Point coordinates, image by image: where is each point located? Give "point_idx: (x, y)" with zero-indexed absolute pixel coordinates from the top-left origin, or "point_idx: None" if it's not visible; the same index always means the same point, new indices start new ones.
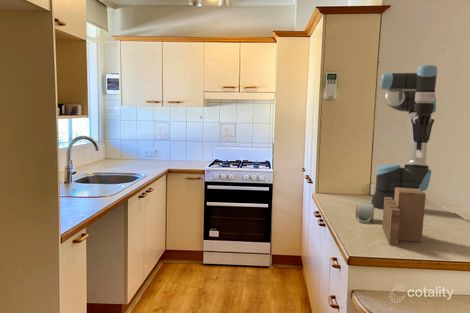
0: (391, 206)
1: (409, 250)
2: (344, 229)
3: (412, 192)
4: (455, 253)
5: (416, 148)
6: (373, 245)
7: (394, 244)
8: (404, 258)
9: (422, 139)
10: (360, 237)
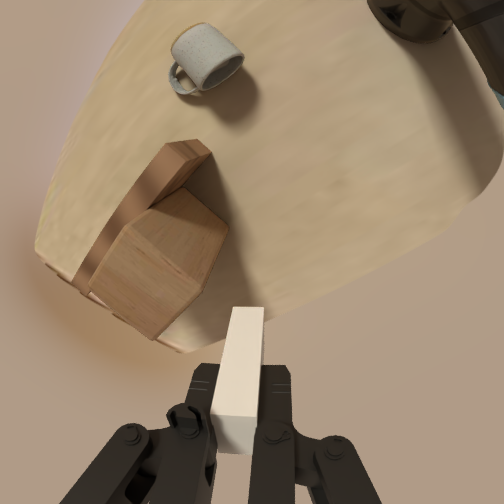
0: (90, 257)
1: None
2: (93, 120)
3: (120, 314)
4: (203, 332)
5: (193, 373)
6: (84, 233)
7: None
8: (97, 300)
9: (208, 480)
10: (89, 183)
